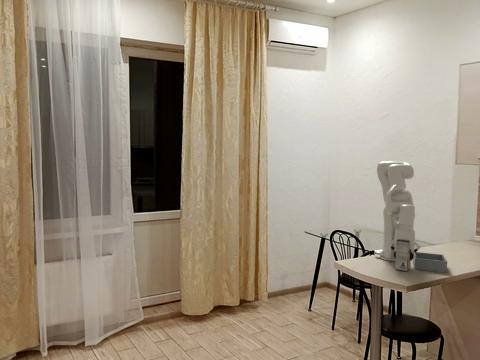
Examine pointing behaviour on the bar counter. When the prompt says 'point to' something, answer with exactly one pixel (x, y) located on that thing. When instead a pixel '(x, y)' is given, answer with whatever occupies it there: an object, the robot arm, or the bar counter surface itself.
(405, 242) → the coffee box
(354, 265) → the bar counter surface
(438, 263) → the bin
